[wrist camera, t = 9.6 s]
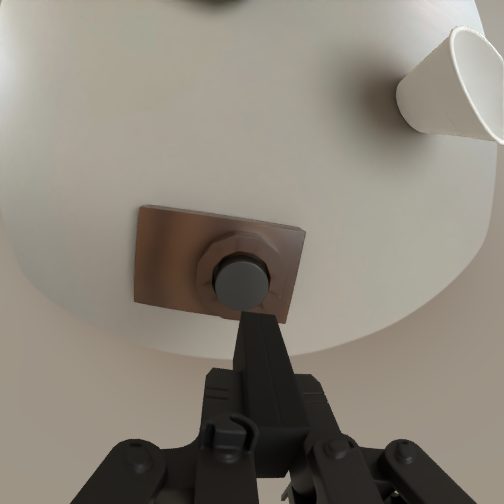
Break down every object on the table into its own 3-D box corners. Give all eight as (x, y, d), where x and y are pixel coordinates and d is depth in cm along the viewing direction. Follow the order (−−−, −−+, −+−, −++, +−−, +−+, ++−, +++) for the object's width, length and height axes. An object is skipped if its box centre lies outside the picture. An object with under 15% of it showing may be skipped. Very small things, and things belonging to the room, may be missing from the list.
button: (213, 297, 20) (211, 307, 19) (220, 251, 20) (218, 257, 18) (260, 304, 21) (263, 314, 19) (269, 258, 20) (273, 265, 18)
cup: (458, 115, 21) (529, 104, 11) (425, 171, 23) (508, 173, 12) (403, 48, 19) (466, 10, 9) (360, 96, 21) (432, 55, 10)
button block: (141, 292, 24) (126, 311, 20) (147, 204, 22) (131, 208, 18) (281, 312, 25) (289, 334, 21) (299, 227, 23) (312, 235, 19)
